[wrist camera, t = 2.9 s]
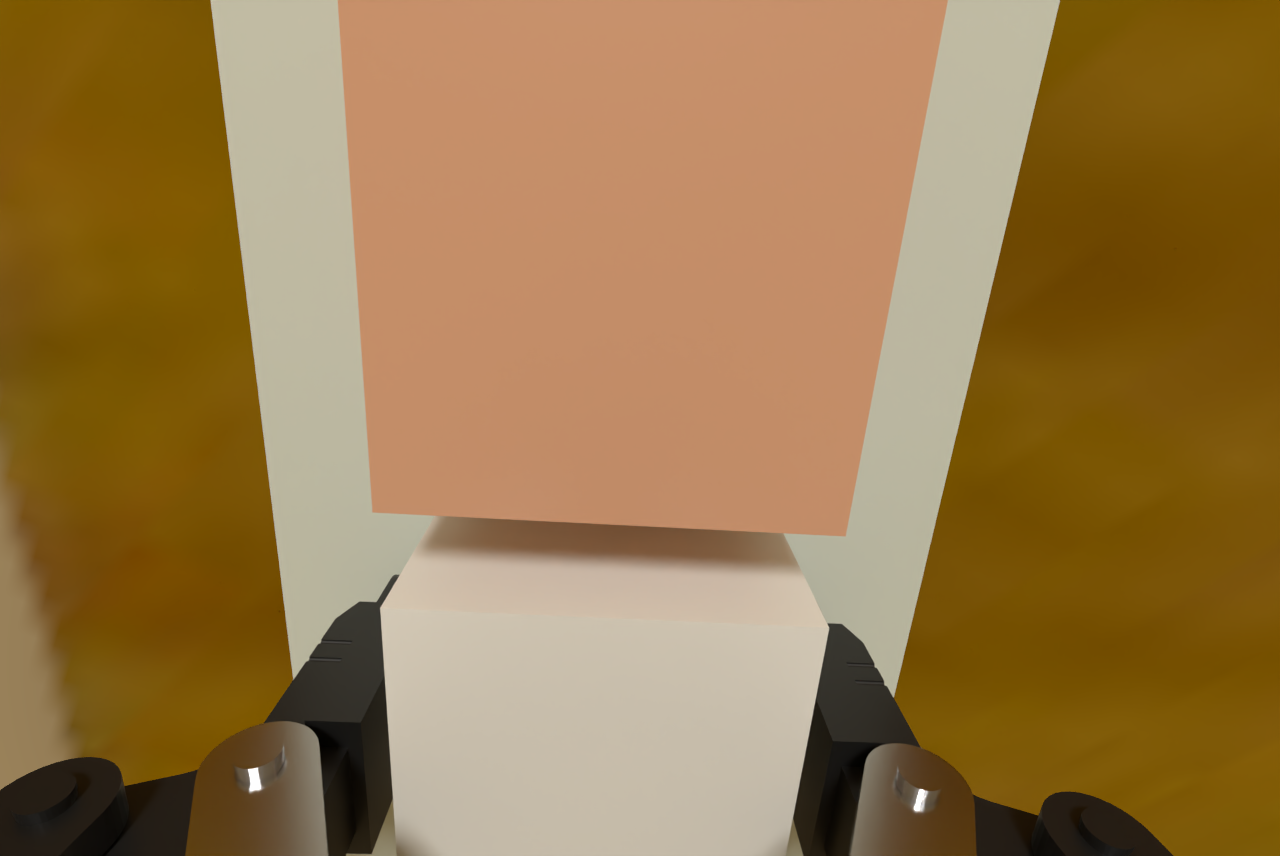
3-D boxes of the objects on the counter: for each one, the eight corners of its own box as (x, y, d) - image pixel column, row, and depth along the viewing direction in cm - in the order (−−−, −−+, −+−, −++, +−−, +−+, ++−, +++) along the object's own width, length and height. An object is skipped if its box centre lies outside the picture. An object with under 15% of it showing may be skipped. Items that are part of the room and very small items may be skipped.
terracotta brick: (755, 401, 11) (845, 536, 7) (474, 385, 11) (372, 513, 7) (813, -35, 9) (997, -257, 5) (469, -66, 9) (313, -333, 5)
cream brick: (711, 747, 14) (755, 1015, 9) (479, 738, 14) (407, 1008, 9) (748, 462, 12) (828, 627, 7) (475, 447, 11) (380, 608, 7)
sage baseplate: (806, 960, 18) (818, 1011, 17) (351, 951, 17) (332, 1003, 16) (1027, -46, 10) (1077, -77, 9) (240, -120, 10) (190, -163, 9)
